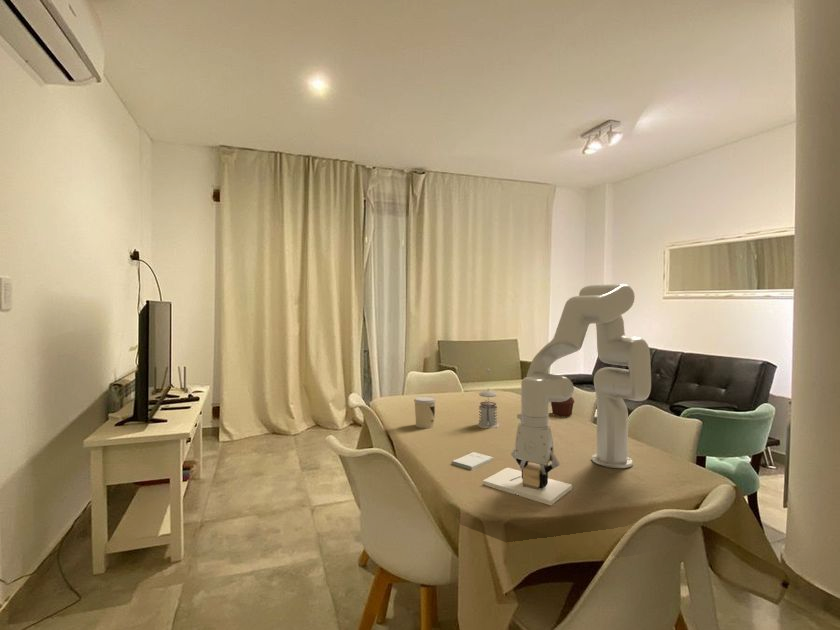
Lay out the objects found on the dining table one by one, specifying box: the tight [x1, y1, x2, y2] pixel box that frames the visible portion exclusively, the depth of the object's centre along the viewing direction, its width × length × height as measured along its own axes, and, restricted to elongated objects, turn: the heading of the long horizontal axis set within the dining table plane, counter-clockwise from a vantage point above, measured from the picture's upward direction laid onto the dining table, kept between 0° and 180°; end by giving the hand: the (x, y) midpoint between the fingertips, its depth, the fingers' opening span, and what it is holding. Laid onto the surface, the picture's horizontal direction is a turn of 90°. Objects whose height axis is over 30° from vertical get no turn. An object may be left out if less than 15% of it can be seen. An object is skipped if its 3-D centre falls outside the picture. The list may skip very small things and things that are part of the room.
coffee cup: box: [413, 396, 437, 429], centre depth 194 cm, size 9×9×12 cm
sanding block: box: [523, 462, 541, 490], centre depth 126 cm, size 6×4×5 cm
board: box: [482, 467, 573, 506], centre depth 128 cm, size 14×21×1 cm, turn 49°
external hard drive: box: [451, 451, 494, 471], centre depth 148 cm, size 2×8×12 cm
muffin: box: [550, 396, 576, 417], centre depth 214 cm, size 12×11×10 cm
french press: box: [476, 368, 500, 429], centre depth 193 cm, size 10×12×25 cm
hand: (534, 483), depth 126 cm, fingers closed on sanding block, 4 cm apart
